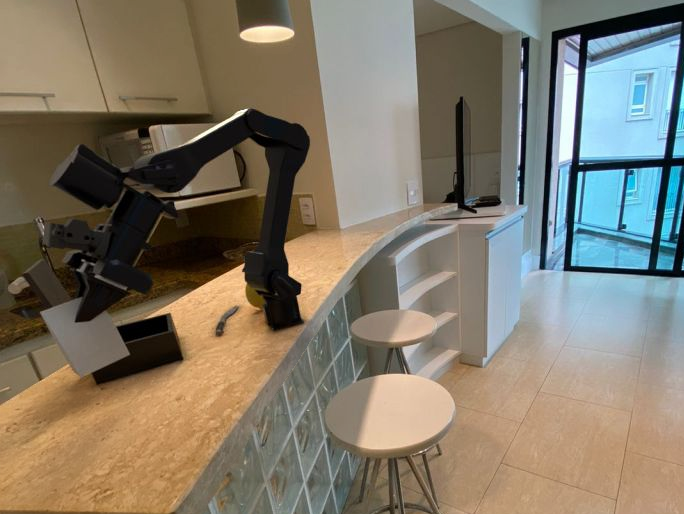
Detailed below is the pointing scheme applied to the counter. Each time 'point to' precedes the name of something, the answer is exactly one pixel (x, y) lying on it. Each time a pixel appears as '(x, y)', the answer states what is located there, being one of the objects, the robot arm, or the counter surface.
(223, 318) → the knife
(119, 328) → the black open box
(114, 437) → the counter surface
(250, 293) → the lemon
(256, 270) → the robot arm
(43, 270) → the box lid
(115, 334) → the grey angular block
